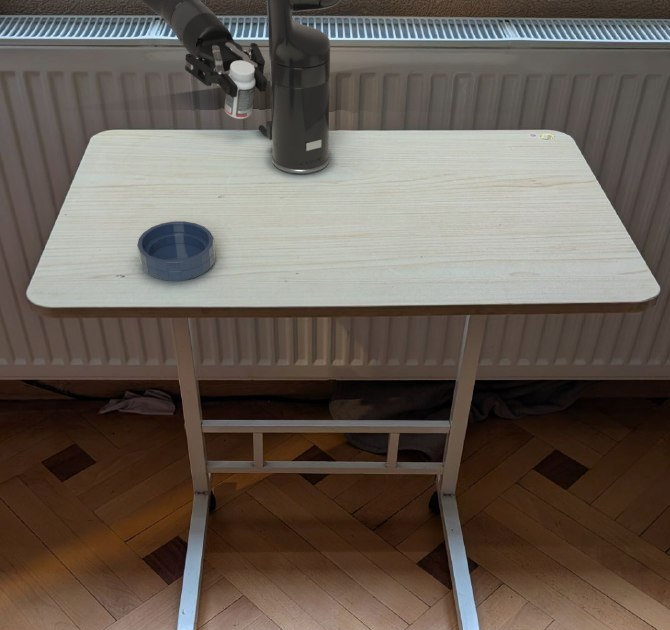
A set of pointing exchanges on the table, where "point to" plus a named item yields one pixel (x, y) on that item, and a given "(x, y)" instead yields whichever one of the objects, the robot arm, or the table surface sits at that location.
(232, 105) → the pill bottle
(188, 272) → the dish
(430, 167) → the table surface
